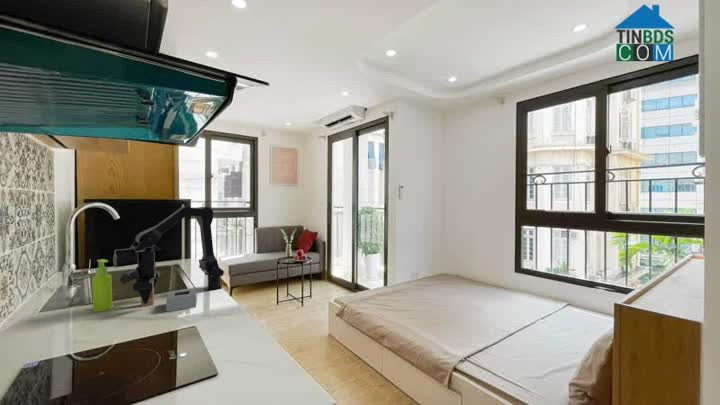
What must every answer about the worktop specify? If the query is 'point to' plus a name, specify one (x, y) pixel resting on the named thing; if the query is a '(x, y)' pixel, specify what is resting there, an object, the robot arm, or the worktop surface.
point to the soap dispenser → (102, 288)
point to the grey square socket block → (181, 299)
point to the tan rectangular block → (150, 301)
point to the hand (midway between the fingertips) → (147, 299)
